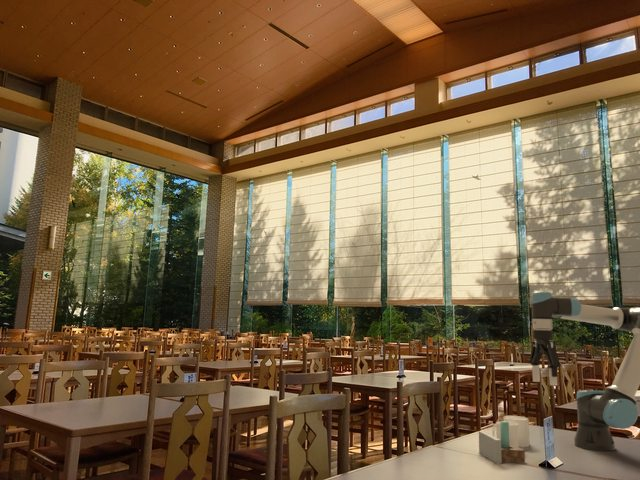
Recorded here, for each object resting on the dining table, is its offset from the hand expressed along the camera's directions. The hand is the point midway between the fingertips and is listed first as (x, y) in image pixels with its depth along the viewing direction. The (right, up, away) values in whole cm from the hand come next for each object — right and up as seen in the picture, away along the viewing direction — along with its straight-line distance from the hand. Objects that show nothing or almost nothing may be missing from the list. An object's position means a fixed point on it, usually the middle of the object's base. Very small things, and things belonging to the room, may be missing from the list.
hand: (544, 383), depth 205 cm
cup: (-15, -27, +2) cm, 31 cm away
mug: (-6, -29, +13) cm, 33 cm away
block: (-21, -24, -14) cm, 35 cm away
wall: (-27, -24, -14) cm, 38 cm away
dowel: (-21, -24, -14) cm, 35 cm away
